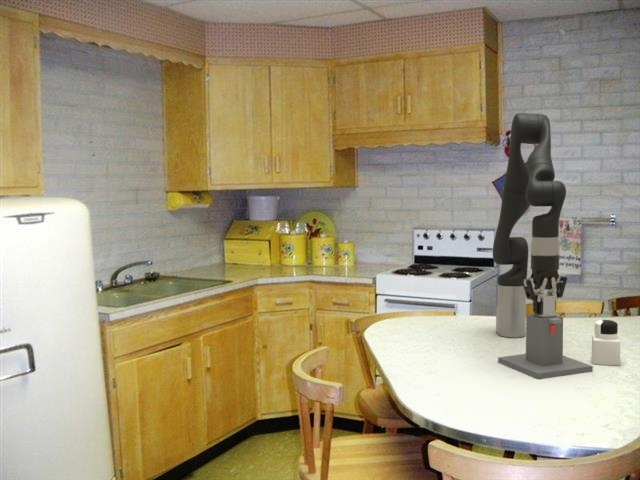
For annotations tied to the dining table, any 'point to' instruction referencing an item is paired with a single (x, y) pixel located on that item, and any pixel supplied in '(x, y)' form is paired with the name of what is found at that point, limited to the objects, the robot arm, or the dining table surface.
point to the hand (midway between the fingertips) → (544, 313)
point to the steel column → (547, 306)
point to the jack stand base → (544, 351)
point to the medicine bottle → (606, 343)
